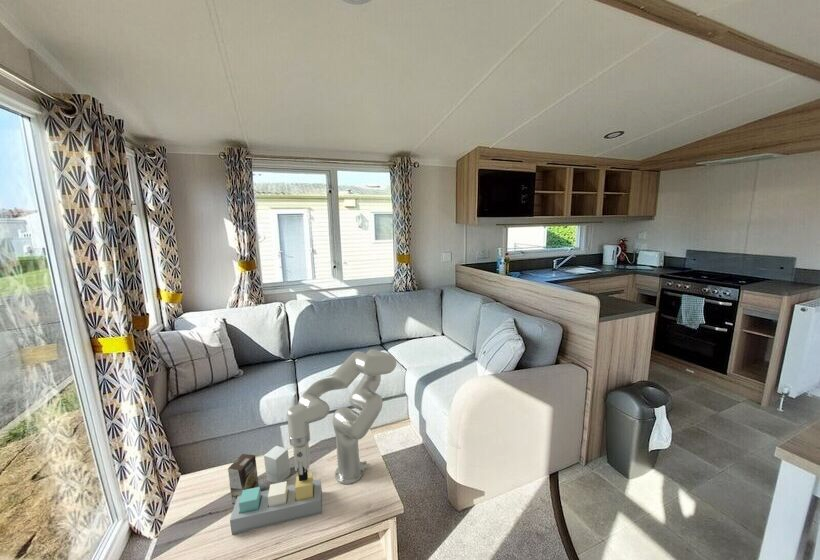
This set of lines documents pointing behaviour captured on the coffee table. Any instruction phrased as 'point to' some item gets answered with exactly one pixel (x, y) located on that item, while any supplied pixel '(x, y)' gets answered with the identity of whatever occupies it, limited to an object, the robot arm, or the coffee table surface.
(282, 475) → the supplement box
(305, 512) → the key console
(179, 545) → the coffee table surface
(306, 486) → the mustard key
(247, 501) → the teal key
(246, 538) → the coffee table surface
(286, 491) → the ivory key
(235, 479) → the coffee box
